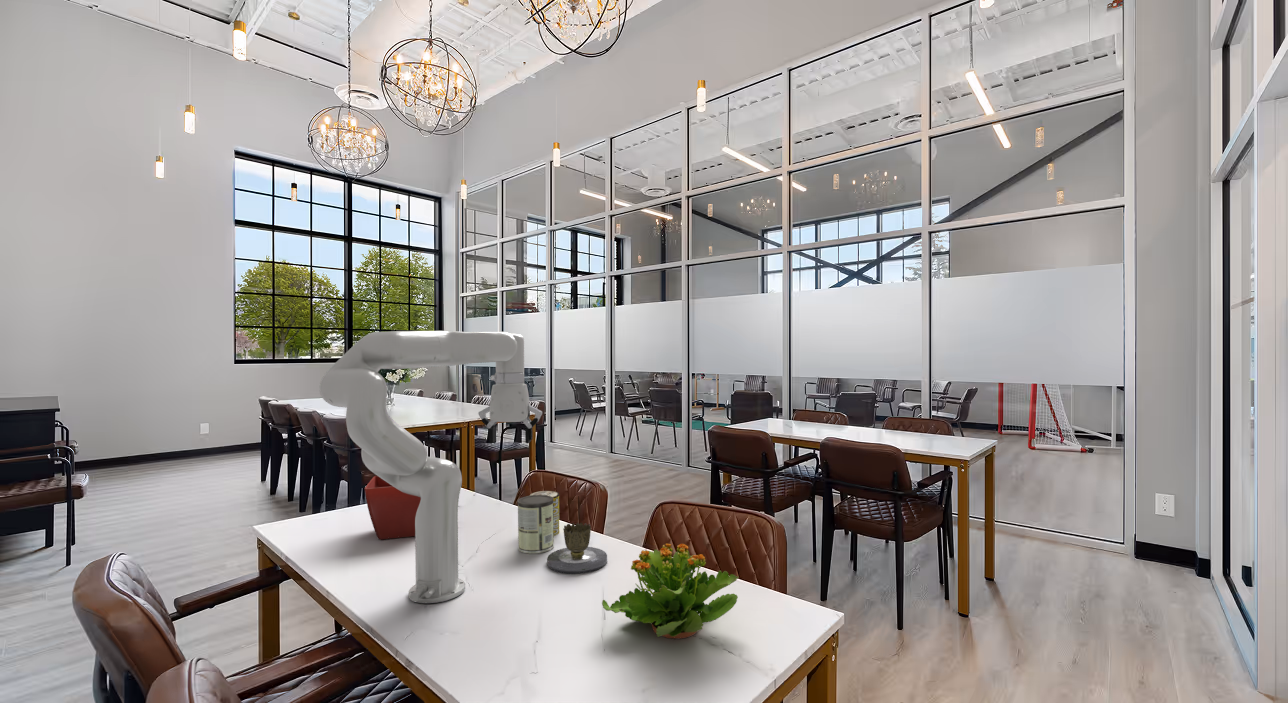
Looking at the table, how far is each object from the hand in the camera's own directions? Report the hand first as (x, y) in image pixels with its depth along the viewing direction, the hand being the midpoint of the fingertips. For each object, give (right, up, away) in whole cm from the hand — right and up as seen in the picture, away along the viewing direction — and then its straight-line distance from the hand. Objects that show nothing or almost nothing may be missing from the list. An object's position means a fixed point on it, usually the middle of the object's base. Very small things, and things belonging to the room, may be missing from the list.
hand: (510, 442), depth 153 cm
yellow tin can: (+5, -33, +24) cm, 41 cm away
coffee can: (+5, -33, +11) cm, 35 cm away
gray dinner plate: (+18, -32, -1) cm, 37 cm away
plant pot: (-41, -33, +26) cm, 58 cm away
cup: (+18, -31, -1) cm, 36 cm away
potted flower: (+43, -32, -37) cm, 66 cm away
